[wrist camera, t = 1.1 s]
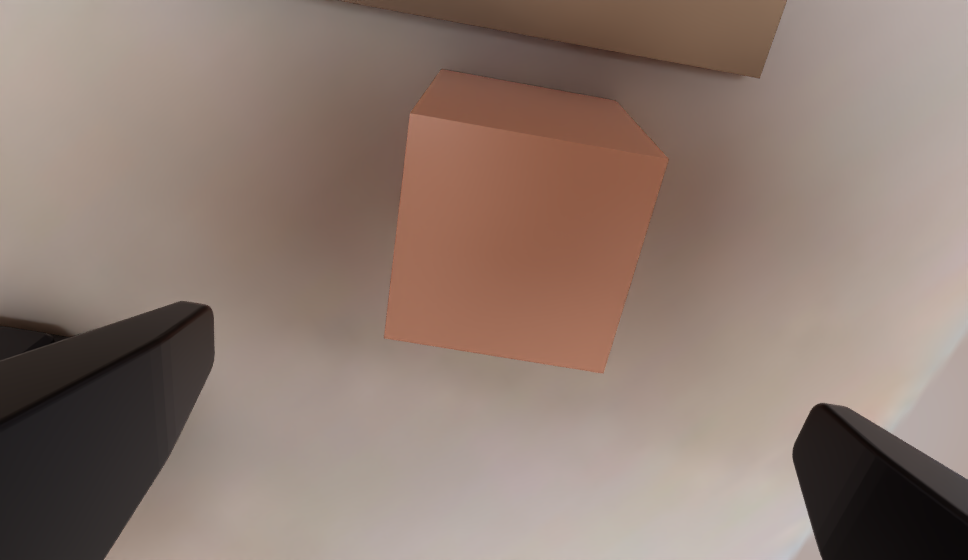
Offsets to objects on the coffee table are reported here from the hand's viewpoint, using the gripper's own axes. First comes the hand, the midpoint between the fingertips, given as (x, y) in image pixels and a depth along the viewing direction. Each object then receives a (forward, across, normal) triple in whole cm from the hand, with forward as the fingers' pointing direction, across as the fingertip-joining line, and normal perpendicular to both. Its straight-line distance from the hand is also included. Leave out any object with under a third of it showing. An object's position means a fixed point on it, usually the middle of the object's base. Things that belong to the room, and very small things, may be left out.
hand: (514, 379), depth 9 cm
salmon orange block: (+11, 0, 0) cm, 11 cm away
